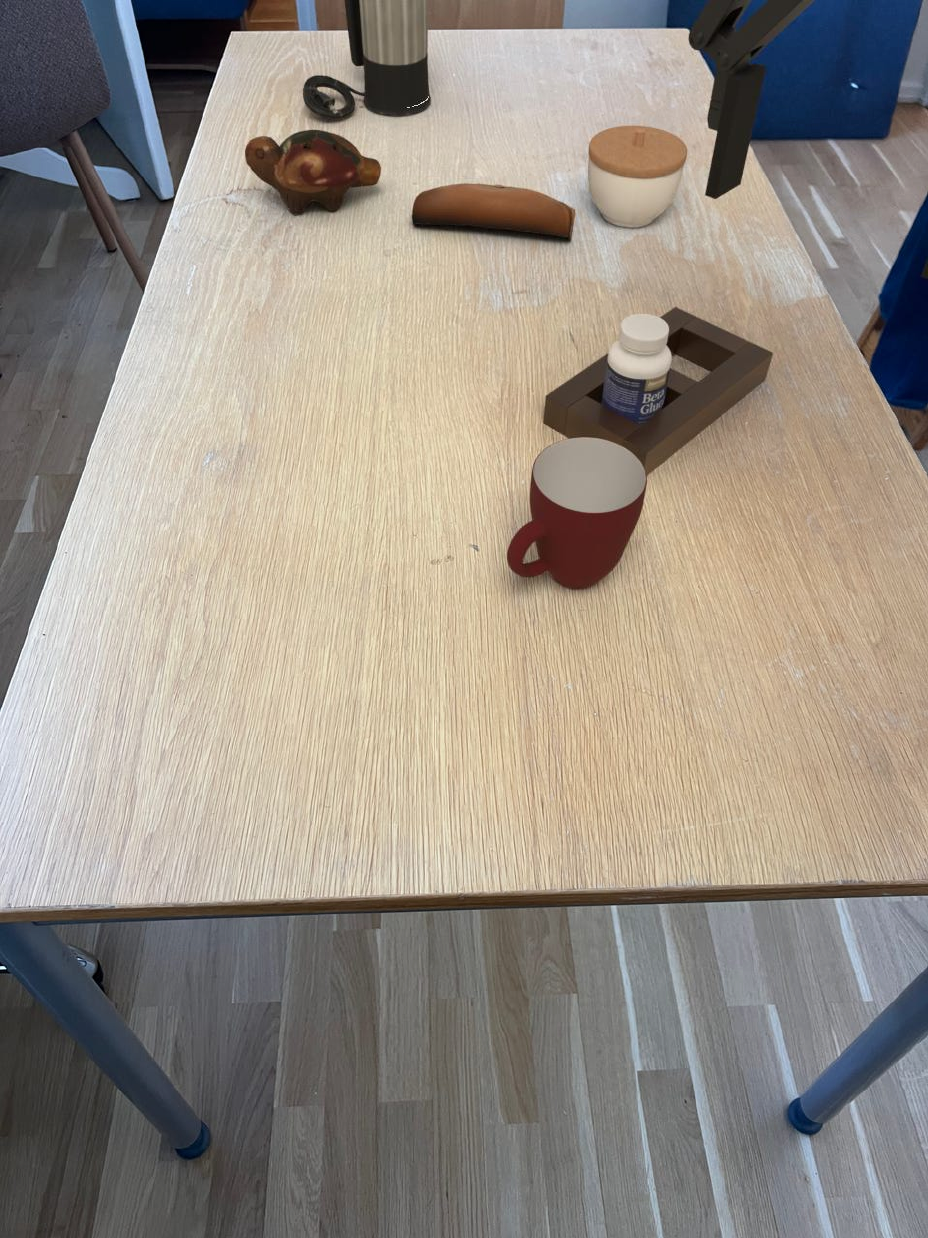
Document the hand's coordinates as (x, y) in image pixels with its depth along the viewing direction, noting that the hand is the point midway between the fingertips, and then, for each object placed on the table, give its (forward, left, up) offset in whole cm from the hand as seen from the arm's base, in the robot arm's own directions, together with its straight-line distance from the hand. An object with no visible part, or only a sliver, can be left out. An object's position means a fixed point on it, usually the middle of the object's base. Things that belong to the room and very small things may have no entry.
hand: (824, 228), depth 54 cm
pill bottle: (+15, -8, -27) cm, 32 cm away
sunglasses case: (+48, -27, -27) cm, 62 cm away
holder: (+15, -12, -27) cm, 33 cm away
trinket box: (+38, -38, -27) cm, 61 cm away
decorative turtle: (+66, -15, -27) cm, 73 cm away
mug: (+7, +11, -27) cm, 30 cm away
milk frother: (+81, -37, -27) cm, 94 cm away
